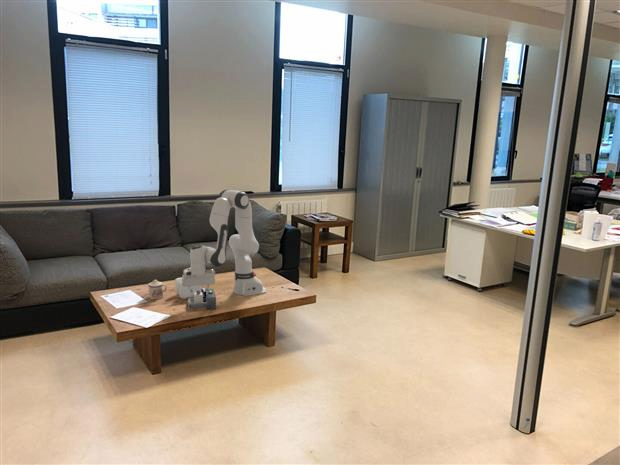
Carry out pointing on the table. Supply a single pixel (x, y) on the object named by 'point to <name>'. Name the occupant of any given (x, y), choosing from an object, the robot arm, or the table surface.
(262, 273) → the table surface
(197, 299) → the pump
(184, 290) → the cable organizer
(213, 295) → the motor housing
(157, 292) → the teacup with lid
